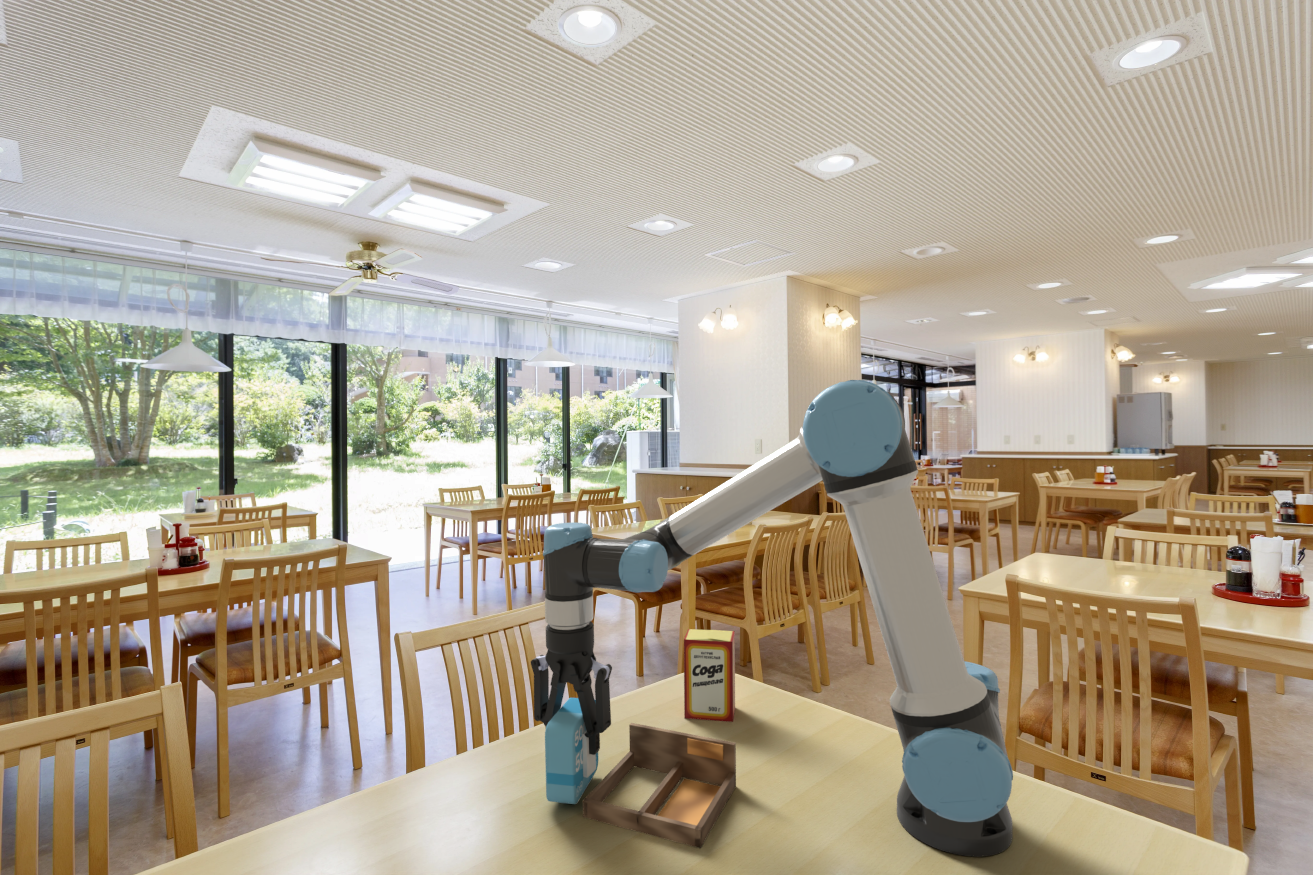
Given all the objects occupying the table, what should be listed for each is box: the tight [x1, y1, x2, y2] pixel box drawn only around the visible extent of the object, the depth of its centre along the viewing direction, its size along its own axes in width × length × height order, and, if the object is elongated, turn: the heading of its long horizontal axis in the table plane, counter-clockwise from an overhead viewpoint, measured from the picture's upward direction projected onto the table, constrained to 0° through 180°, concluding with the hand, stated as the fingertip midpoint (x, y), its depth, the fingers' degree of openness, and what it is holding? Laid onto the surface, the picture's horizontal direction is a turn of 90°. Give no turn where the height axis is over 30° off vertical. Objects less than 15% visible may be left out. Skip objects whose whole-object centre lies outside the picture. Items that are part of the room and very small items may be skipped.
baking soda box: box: [683, 628, 736, 723], centre depth 131 cm, size 10×6×16 cm
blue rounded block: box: [544, 697, 599, 805], centre depth 104 cm, size 12×4×12 cm, turn 167°
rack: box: [582, 722, 737, 849], centre depth 101 cm, size 18×17×7 cm
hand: (573, 768), depth 104 cm, fingers closed on blue rounded block, 5 cm apart
